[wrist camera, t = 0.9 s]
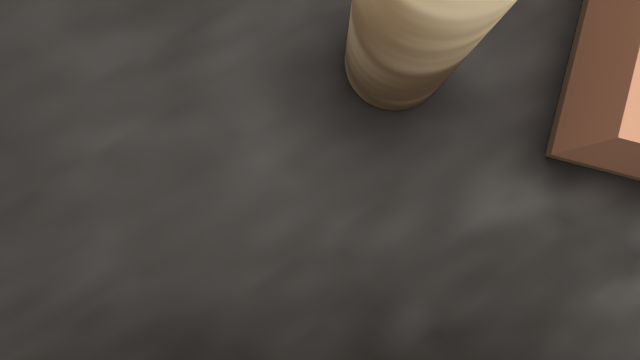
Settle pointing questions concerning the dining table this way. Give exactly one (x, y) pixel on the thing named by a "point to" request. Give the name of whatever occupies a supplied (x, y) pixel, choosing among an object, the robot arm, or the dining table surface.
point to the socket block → (601, 92)
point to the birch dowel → (412, 45)
